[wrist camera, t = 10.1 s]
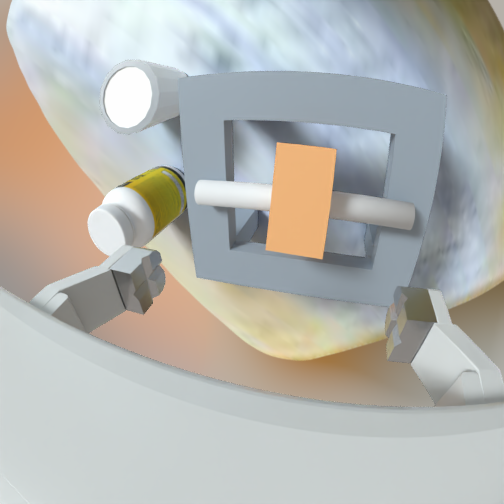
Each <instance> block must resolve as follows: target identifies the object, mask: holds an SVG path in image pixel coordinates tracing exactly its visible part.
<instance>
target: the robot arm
mask: <svg viewBox="0 0 504 504" xmlns="http://www.w3.org/2000/svg"><path fill="white" fill-rule="evenodd" d="M161 261H162V259H161V256H160V253H159V252H158V251H157V250H152V249H146V248H141V247H135V246H130V245H123V246H121V247H120V248H119V249H118V250H117V251H115V252H114V253H113V254H112V255H111V256H110V257H109V258H108V259H106V260H105V261H104V262H103V263H102V264H101V265H100V266H99V267H98V266H95V267H92V268H89V269H87V270H84V271H82V272H79V273H77V274H74V275H72V276H69V277H67V278H64V279H62V280H59V281H57V282H54V283H52V284H49V285H47V286H46V287H45V288H44V289H43V290H42V291H40V293H38V294H37V295H36V296H35V297H34V298H33V299H32V300H31V301H30V302H29V303H27V302H26V301H24V300H22V299H21V298H19V297H17V296H15V295H14V294H12V293H10V292H9V291H7V290H6V289H4V288H2V287H1V286H0V504H504V383H503V379H502V376H501V372H500V370H499V368H498V367H497V366H496V365H495V364H494V363H493V362H492V361H491V360H490V359H489V357H487V356H486V354H484V352H483V351H482V350H481V349H480V348H479V347H478V346H477V345H476V344H475V343H474V342H473V341H472V340H471V339H470V338H469V337H468V336H467V335H466V334H465V333H464V332H463V331H462V330H461V329H460V328H459V327H458V326H457V325H454V324H452V322H451V318H450V315H449V313H448V309H447V307H446V304H445V301H444V298H443V295H442V293H441V291H440V290H438V289H427V288H426V289H423V288H414V287H405V286H397V288H396V289H395V292H394V295H393V297H394V303H393V304H392V305H390V306H389V309H388V312H387V315H386V321H385V334H386V336H387V337H388V338H389V339H388V342H387V344H386V349H387V350H386V351H387V361H393V362H402V363H411V366H412V367H413V369H414V371H415V372H416V374H417V375H418V377H419V378H420V380H421V382H422V383H423V385H424V387H425V388H426V390H427V392H428V393H429V395H430V396H431V398H432V400H433V401H434V403H435V406H434V407H397V406H395V407H394V406H377V405H362V404H351V403H341V402H333V401H325V400H317V399H311V398H303V397H297V396H292V395H286V394H280V393H275V392H270V391H265V390H260V389H256V388H251V387H247V386H242V385H238V384H234V383H230V382H226V381H222V380H218V379H214V378H211V377H207V376H204V375H200V374H197V373H193V372H190V371H187V370H183V369H180V368H177V367H174V366H171V365H168V364H165V363H162V362H159V361H156V360H153V359H151V358H148V357H145V356H142V355H140V354H137V353H134V352H132V351H129V350H126V349H123V348H121V347H119V346H116V345H114V344H111V343H109V342H107V341H104V340H102V339H100V338H97V337H95V336H93V335H91V334H88V333H90V332H91V331H93V330H95V329H96V328H98V327H100V326H101V325H103V324H105V323H106V322H108V321H110V320H111V319H113V318H114V317H116V316H118V315H120V314H121V313H123V312H124V311H126V310H128V311H132V312H136V313H140V314H145V312H146V311H147V310H148V309H149V307H150V306H151V304H153V298H154V297H156V296H158V295H159V294H160V293H161V292H162V290H163V288H164V285H165V273H164V270H163V269H162V268H161V267H160V263H161Z"/></svg>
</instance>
